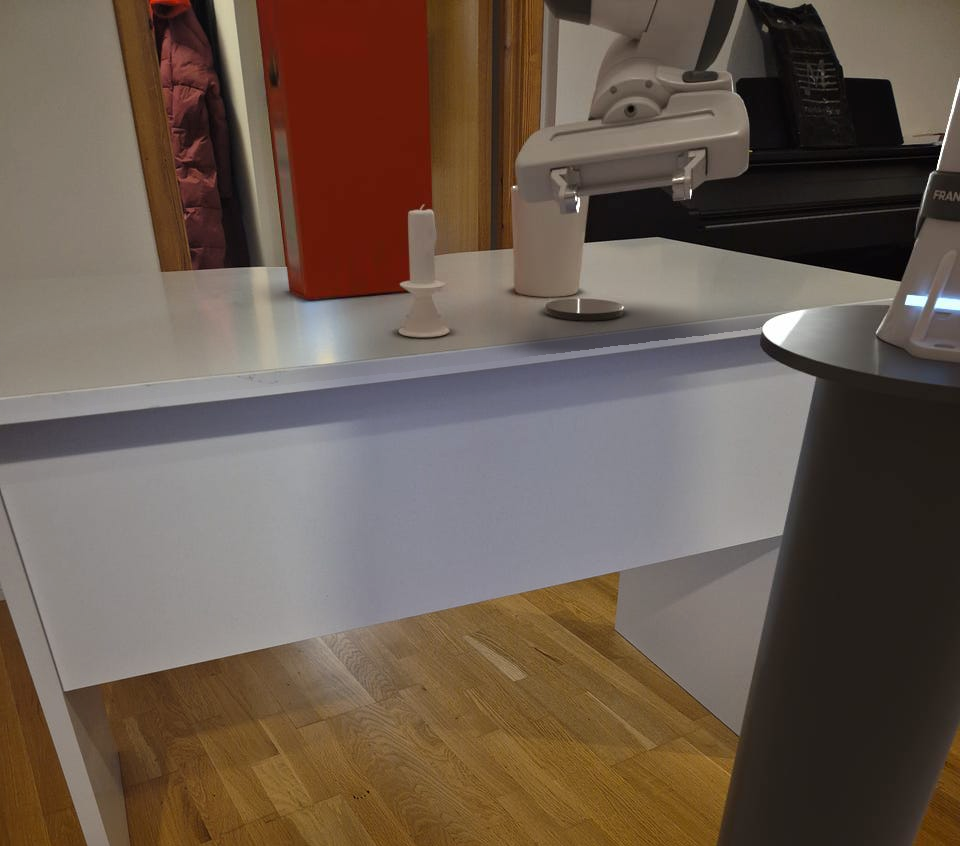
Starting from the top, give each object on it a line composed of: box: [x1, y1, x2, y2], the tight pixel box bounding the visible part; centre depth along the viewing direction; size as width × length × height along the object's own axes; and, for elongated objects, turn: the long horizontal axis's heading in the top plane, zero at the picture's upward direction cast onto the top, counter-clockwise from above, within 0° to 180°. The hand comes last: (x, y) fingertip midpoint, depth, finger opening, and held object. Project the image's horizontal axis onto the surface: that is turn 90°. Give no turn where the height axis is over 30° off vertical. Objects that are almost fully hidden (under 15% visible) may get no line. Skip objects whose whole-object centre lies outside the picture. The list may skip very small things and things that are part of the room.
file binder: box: [255, 0, 434, 301], centre depth 101 cm, size 8×17×32 cm, turn 118°
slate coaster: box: [544, 298, 624, 322], centre depth 97 cm, size 9×9×1 cm
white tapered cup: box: [510, 185, 590, 298], centre depth 106 cm, size 10×10×12 cm
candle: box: [398, 205, 450, 338], centre depth 85 cm, size 5×5×12 cm
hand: (623, 198), depth 70 cm, fingers open, 8 cm apart
